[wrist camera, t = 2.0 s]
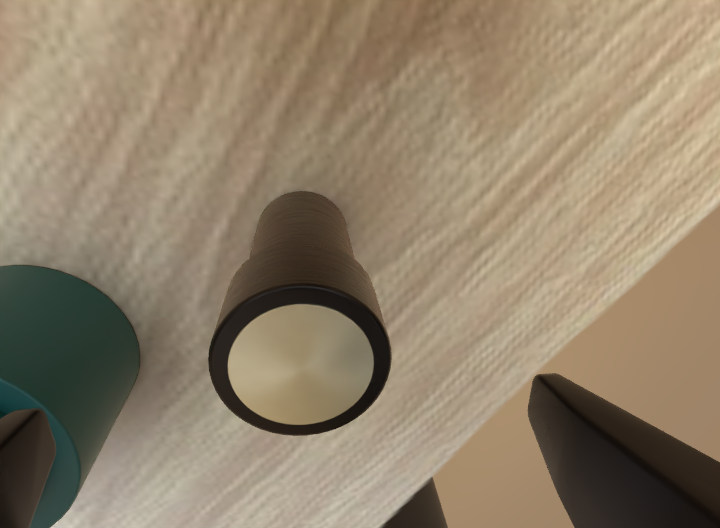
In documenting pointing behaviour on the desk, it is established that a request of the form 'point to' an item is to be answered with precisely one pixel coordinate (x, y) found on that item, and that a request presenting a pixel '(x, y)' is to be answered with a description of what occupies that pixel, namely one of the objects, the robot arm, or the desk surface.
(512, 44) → the desk surface
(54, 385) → the bottle
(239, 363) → the flashlight
